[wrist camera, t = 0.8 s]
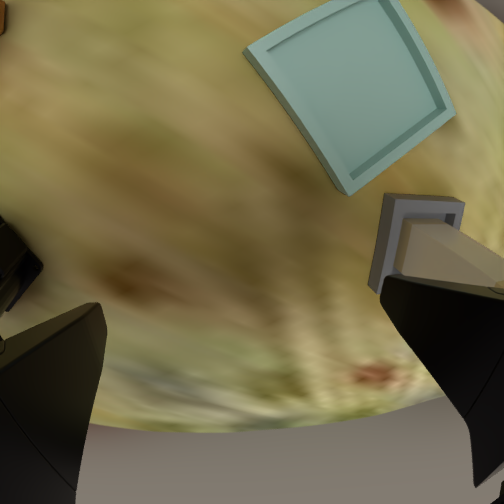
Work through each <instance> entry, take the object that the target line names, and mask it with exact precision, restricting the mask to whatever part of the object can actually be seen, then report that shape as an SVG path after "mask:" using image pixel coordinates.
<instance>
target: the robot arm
mask: <svg viewBox="0 0 504 504" xmlns="http://www.w3.org/2000/svg"><path fill="white" fill-rule="evenodd" d="M35 265H36V266H37V267H38V269H37V268H36V267H35ZM42 269H43V265H42V263H41V262H40V261H39V259H38V258H37V257H36V256H35V255H34V254H33V253H32V252H31V251H30V250H29V249H28V248H27V247H26V245H25V244H24V243H23V242H22V241H21V240H20V239H19V237H18V236H17V235H16V234H15V233H14V232H13V231H12V230H11V228H10V227H9V226H8V225H7V224H6V223H5V222H4V221H3V220H2V218H1V217H0V317H1V316H2V314H3V313H4V311H6V312H9V311H10V310H11V308H12V307H13V306H14V304H15V303H16V302H17V301H18V299H19V298H20V297H21V295H22V294H23V293H24V292H25V290H26V289H27V288H28V287H29V286H30V284H31V283H32V282H33V281H34V280H35V278H36V277H37V276H38V275H39V274H40V272H41V271H42ZM380 303H381V305H382V307H383V309H384V310H385V312H386V313H387V315H388V317H389V318H390V320H391V321H392V323H393V324H394V326H395V328H396V329H397V331H398V332H399V334H400V335H401V336H402V338H403V339H404V340H405V341H406V343H407V344H408V345H409V347H410V348H411V349H412V350H413V352H414V353H415V354H416V356H417V357H418V358H419V359H420V361H421V362H422V363H423V365H424V366H425V367H426V369H427V370H428V371H429V373H430V374H431V375H432V377H433V378H434V379H435V381H436V382H437V383H438V385H439V386H440V387H441V389H442V390H443V391H444V393H445V394H446V396H447V397H448V398H449V400H450V401H451V402H452V404H453V405H454V407H455V408H456V409H457V411H458V412H459V414H460V415H461V416H462V418H463V419H464V421H465V422H466V424H467V426H468V429H469V433H470V440H471V451H472V463H473V482H474V486H475V488H477V487H478V486H480V485H481V484H482V483H484V482H485V481H487V480H488V479H490V478H491V477H492V476H494V475H495V474H496V473H498V472H499V471H500V470H502V469H503V468H504V288H496V287H485V286H478V285H471V284H463V283H456V282H449V281H441V280H434V279H427V278H419V277H412V276H405V275H397V274H394V275H387V276H386V277H385V278H384V280H383V285H382V289H381V294H380ZM106 339H107V325H106V321H105V318H104V314H103V311H102V307H101V305H100V303H98V302H95V303H86V304H84V305H81V306H79V307H77V308H75V309H72V310H70V311H68V312H66V313H63V314H61V315H59V316H57V317H54V318H52V319H50V320H48V321H45V322H43V323H41V324H39V325H36V326H34V327H32V328H30V329H28V330H25V331H23V332H21V333H19V334H17V335H14V336H12V337H10V338H8V339H6V340H5V341H4V340H3V339H2V337H1V336H0V504H75V499H76V492H75V491H76V490H77V483H78V477H79V471H80V465H81V460H82V455H83V449H84V444H85V440H86V434H87V430H88V425H89V421H90V417H91V412H92V408H93V404H94V400H95V396H96V392H97V388H98V384H99V380H100V376H101V372H102V367H103V360H104V353H105V346H106ZM491 504H504V481H503V482H502V483H501V490H500V496H499V498H497V499H496V500H495V501H494V502H492V503H491Z"/></svg>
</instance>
